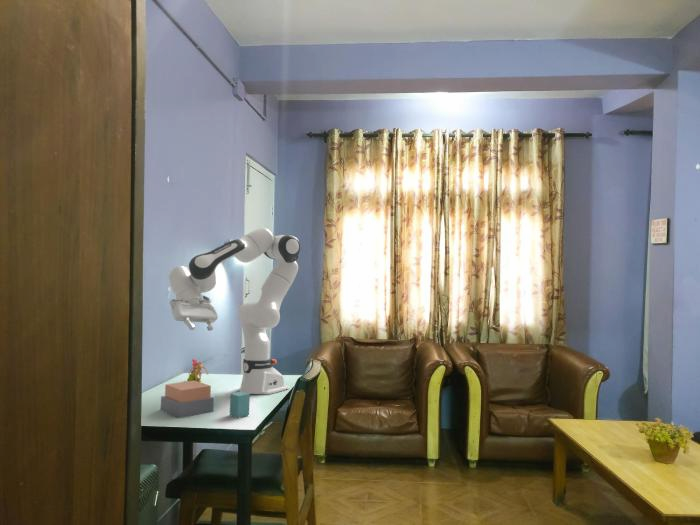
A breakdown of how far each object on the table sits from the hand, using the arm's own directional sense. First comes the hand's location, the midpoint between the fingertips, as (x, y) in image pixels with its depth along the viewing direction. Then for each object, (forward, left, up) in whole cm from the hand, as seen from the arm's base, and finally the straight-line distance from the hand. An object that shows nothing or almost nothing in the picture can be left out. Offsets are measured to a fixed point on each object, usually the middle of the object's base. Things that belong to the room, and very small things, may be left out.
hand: (201, 329), depth 205 cm
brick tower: (+7, +3, -30) cm, 31 cm away
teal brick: (-4, +21, -30) cm, 37 cm away
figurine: (-12, -22, -30) cm, 39 cm away
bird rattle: (-20, -39, -30) cm, 53 cm away
